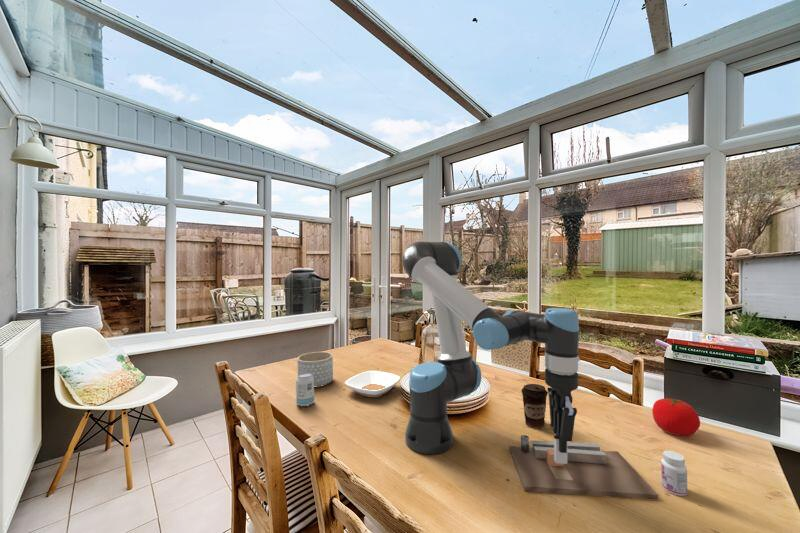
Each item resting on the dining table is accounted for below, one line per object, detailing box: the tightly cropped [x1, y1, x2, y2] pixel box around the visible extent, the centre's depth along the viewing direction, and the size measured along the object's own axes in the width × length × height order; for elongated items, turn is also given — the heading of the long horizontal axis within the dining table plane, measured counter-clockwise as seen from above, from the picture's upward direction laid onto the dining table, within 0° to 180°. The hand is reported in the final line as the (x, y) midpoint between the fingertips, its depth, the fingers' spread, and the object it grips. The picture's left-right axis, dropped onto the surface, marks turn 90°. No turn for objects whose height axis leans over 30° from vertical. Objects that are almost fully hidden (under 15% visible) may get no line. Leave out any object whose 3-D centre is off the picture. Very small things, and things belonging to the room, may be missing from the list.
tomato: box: [651, 397, 701, 437], centre depth 102 cm, size 11×12×10 cm
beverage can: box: [295, 373, 315, 407], centre depth 128 cm, size 7×7×12 cm
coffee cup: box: [520, 383, 548, 429], centre depth 108 cm, size 9×8×13 cm
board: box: [508, 445, 660, 501], centre depth 83 cm, size 30×17×1 cm, turn 83°
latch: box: [547, 449, 564, 466], centre depth 85 cm, size 4×2×3 cm, turn 83°
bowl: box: [344, 370, 402, 398], centre depth 140 cm, size 22×22×5 cm
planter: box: [296, 351, 334, 386], centre depth 151 cm, size 16×16×13 cm
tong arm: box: [534, 446, 607, 464], centre depth 87 cm, size 18×2×2 cm, turn 80°
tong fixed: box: [520, 434, 601, 453], centre depth 90 cm, size 21×2×4 cm, turn 83°
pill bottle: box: [660, 450, 689, 497], centre depth 76 cm, size 5×5×8 cm
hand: (560, 461), depth 80 cm, fingers closed
